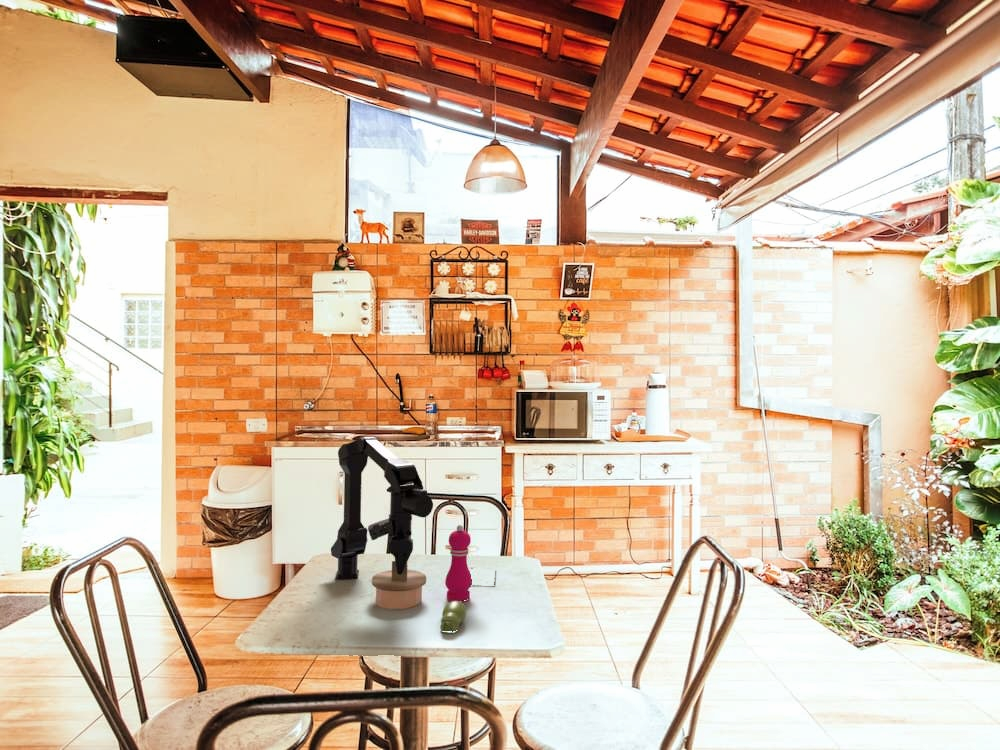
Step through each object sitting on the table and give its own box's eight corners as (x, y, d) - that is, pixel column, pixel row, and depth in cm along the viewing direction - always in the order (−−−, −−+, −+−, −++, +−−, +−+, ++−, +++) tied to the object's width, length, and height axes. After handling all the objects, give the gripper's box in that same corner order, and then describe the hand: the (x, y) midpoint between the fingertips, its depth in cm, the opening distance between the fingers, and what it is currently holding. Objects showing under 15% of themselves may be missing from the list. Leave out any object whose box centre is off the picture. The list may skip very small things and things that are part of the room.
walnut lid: (372, 574, 167) (372, 556, 167) (424, 572, 170) (425, 554, 170) (371, 592, 153) (371, 572, 153) (427, 590, 156) (428, 570, 156)
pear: (468, 597, 150) (458, 620, 140) (469, 617, 150) (458, 641, 141) (447, 595, 151) (435, 617, 141) (447, 615, 151) (435, 638, 142)
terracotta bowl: (376, 593, 166) (377, 575, 166) (420, 591, 168) (420, 573, 168) (375, 610, 155) (375, 590, 155) (422, 608, 157) (422, 588, 157)
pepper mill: (439, 599, 163) (441, 525, 163) (453, 591, 169) (455, 520, 169) (462, 605, 159) (464, 529, 160) (476, 596, 166) (478, 524, 166)
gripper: (371, 503, 169) (370, 559, 169) (369, 519, 151) (367, 581, 151) (411, 503, 171) (410, 558, 171) (413, 518, 153) (412, 580, 153)
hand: (399, 568), depth 162 cm, fingers open, 9 cm apart
